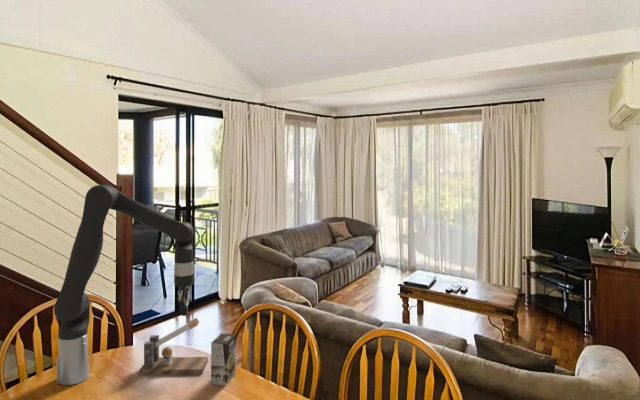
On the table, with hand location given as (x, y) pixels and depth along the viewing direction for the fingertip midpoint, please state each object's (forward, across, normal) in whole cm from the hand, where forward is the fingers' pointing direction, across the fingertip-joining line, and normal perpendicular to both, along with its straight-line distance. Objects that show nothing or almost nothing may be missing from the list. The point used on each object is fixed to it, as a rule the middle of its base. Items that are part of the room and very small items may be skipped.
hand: (184, 315), depth 151 cm
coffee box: (+22, +8, +17) cm, 29 cm away
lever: (+9, 0, -4) cm, 10 cm away
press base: (+22, 0, -4) cm, 22 cm away
